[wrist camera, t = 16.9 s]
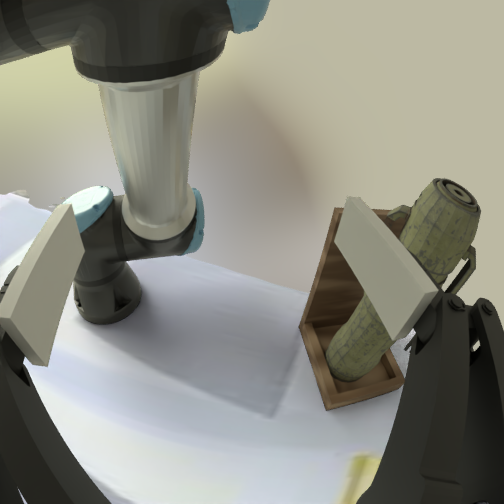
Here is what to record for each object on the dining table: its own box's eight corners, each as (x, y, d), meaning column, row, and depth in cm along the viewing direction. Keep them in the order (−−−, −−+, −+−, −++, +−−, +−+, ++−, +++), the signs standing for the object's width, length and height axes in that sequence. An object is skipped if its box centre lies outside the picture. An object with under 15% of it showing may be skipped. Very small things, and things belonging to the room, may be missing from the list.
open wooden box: (298, 326, 53) (334, 207, 37) (363, 317, 55) (413, 211, 40) (325, 410, 39) (404, 305, 23) (398, 389, 41) (482, 288, 26)
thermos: (326, 328, 50) (409, 153, 26) (380, 354, 46) (494, 200, 22) (307, 365, 44) (404, 181, 20) (365, 393, 40) (510, 242, 16)
